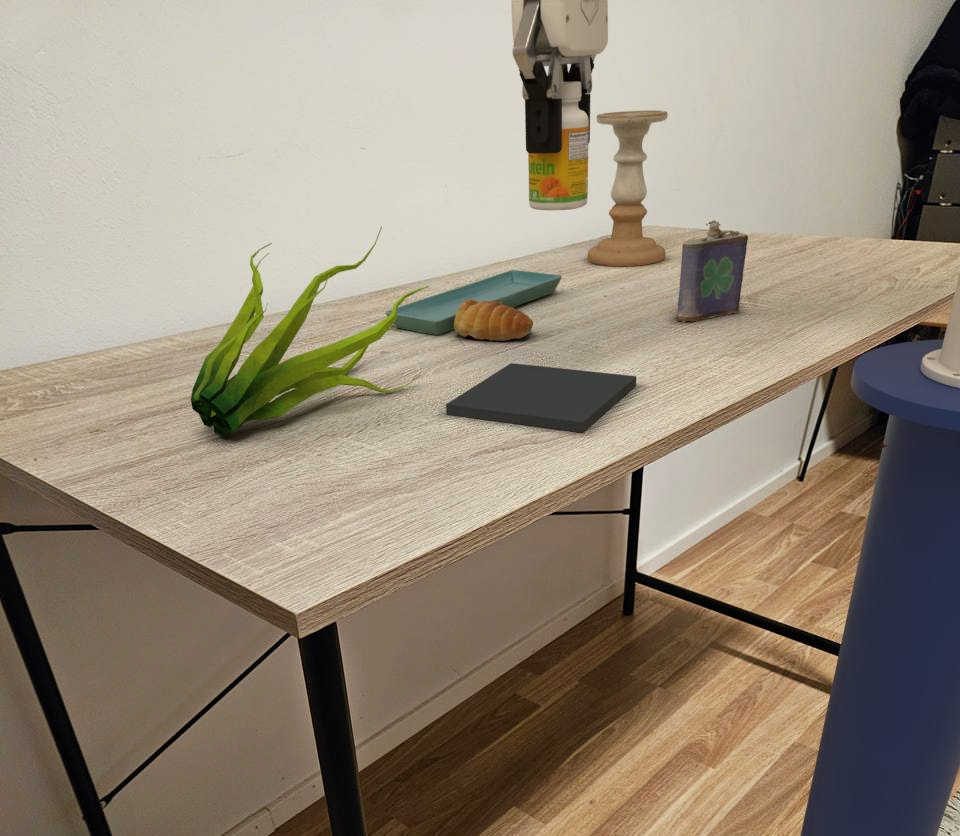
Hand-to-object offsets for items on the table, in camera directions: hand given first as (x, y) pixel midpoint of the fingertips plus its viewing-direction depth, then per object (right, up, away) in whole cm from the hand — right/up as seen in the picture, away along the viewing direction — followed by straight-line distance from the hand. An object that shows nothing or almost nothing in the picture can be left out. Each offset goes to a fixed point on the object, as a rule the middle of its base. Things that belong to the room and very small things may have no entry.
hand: (558, 146), depth 79 cm
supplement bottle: (0, -4, +3) cm, 5 cm away
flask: (+21, -4, +31) cm, 38 cm away
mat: (-1, -21, +8) cm, 22 cm away
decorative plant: (-24, -19, +13) cm, 33 cm away
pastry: (-6, -7, +29) cm, 30 cm away
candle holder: (+16, +17, +63) cm, 67 cm away
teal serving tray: (-7, 0, +39) cm, 40 cm away
